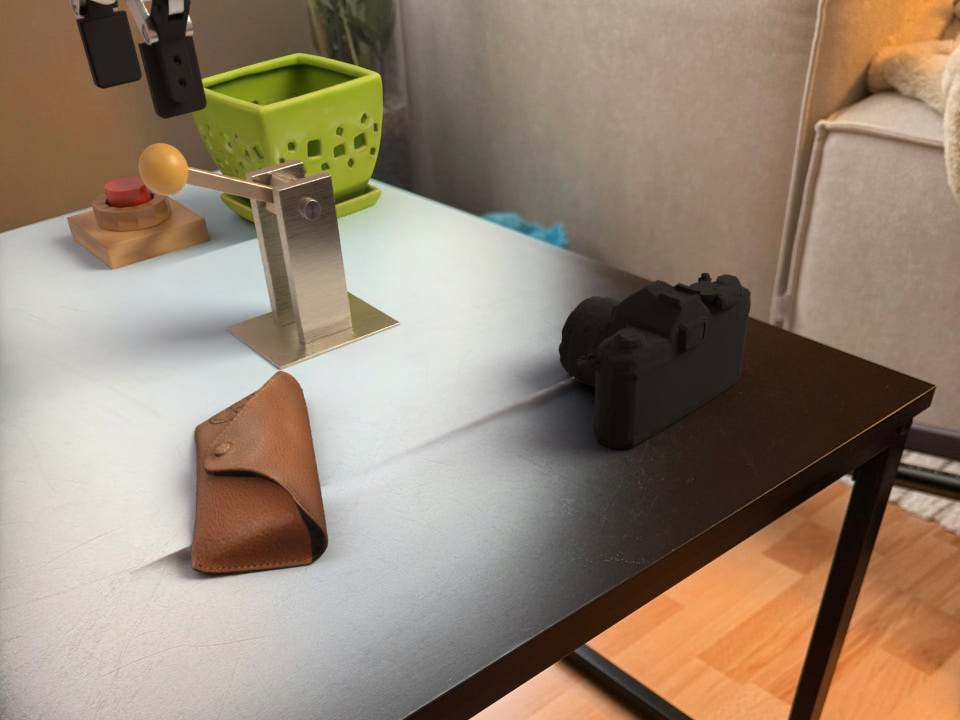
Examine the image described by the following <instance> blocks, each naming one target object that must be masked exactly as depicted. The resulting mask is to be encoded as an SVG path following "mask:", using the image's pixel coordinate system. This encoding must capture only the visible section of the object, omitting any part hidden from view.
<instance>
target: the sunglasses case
mask: <svg viewBox="0 0 960 720" xmlns="http://www.w3.org/2000/svg"><path fill="white" fill-rule="evenodd" d="M194 442H195V443H194V444H195V452H196V485H195V487H196V491H195V516H194V526H193V535H192V542H191V555H190V558H191V560H190V561H191V567H190V568H191V569H192V571H196V572H197V573H201V574H205V575H215V574H244V573H245V574H246V573H256V572H264V571H270V570H271V571H272V570H273V571H274V570H281V569H289V568H294V567H295V568H297V567H301V566H309V565H312V564H313V563H315V562H316V561H318V560H320V558H322V556H323V555H324V554H325V553H326V551H327V549H328V547H329V535H328V530H327V529H328V528H327V521H326V513H325V512H326V511H325V506H324V501H323V500H324V499H323V495H322V488H321V482H320V476H319V469H318V464H317V459H316V452H315V445H314V440H313V434H312V429H311V423H310V417H309V410H308V407H307V402H306V398H305V394H304V389H303V388H302V386H301V384H300V383H299V381H298V379H296V378H295V376H293V375H292V374H291V373H289V372H287V371H284V370H278V371H276V372H275V373H274V374H273V375H272V376H271V377H270V378H269V379H268V380H267V381H266V382H265V383H263V385H261V387H260V388H259V389H257V390H255V391H253V392H252V393H250V394H248V395H247V396H244V397H243V398H241V399H240V400H238V401H236V402H234V403H233V404H231V405H230V406H228V407H226V408H224V409H223V410H221V411H220V412H218V413H216V414H214V415H212V416H211V417H209V418H208V419H206V420H204V421H202V422H201V423H199V424H198V425H197V426H195V430H194Z"/></svg>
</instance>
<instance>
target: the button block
mask: <svg viewBox="0 0 960 720" xmlns="http://www.w3.org/2000/svg"><path fill="white" fill-rule="evenodd" d="M149 190H150V189H149ZM150 194H151V198H152V200H150V201H149V202H147V203H145V204H141V205H138V206H134V207H124V208H117V207H110V206H109V203H108V199H107V196H106V192H104V193H102V194H101V195H99V196H97V197H95V198H94V200H93V202H92V204H91V208H92V210H90V211H86V212H82V213H78V214H75V215H71V216H68V217H66V221H67V224H68V227H69V231H70V234H71V236H72V239H73V241H75V242H76V243H77V244H78V245H80V246H81V247H82V248H83V249H85V250H86V251H87V252H89V253H90V254H92V255H93V256H94V257H95V258H97V259H98V260H99V261H100V262H102V263H103V264H105V266H107V267H108V268H110V270H118V269H121V268H124V267H127V266H130V265H133V264H137V263H140V262H143V261H147V260H150V259H153V258H157V257H160V256H164V255H166V254H170V253H173V252H176V251H179V250H182V249H183V250H184V249H185V248H190V247H193V246H196V245H199V244H203V243H205V242H209V241H210V236H209V232H208V227H207V223H206V219H205V217H204V216H202V215H200V214H198V213H197V212H195V211H194V210H192V209H190V208H189V207H187V206H185V205H183V204H182V203H180V202H178V200H176V199H173V198H172V197H170V196H164V195H159V194H157V193H155V192H153V191H151V190H150Z"/></svg>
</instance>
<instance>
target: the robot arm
mask: <svg viewBox="0 0 960 720" xmlns="http://www.w3.org/2000/svg"><path fill="white" fill-rule="evenodd" d="M124 2H125V4H126V7H127V9H128V11H129V12H130V14H131V17H132V19H133V21H134V22H135V25H136V27H137V29H138V31H139V34H140V35H141V37H142V39H143V41H144V42H140V43H137V46H138V49H139V53H140V57H141V63H142V65H143V70H144V72H145V73H144V74H145V77H146V82H147V85H148V91H149V93H150V97H151V101H152V105H153V109H154V113H155V115H156V116H158V117H159V118H160V119H165V120H166V119H170V118H174V117H178V116H183V115H186V114H192V113H191V112H195V111H199V110H202V109H204V108H205V107H206V104H207V101H206V96H205V92H204V87H203V83H202V79H203V77H202V74H201V70H200V65H199V61H198V56H197V51H196V46H195V42H194V37H193V36H194V32H195V29H194V25H193V22H192V19H191V17H190V9H191V6H190V5H191V0H124ZM147 2H151V5H150V11H149V10H148V9H147V6H146V4H145V3H147ZM69 4H70V8H71V11H72V13H73V15H74V16H75V17H76V18H77V19H75V22H76V25H77V28H78V29H77V30H78V33H79V36H80V40H81V43H82V46H83V49H84V53H85V57H86V60H87V64H88V68H89V72H90V75H91V78H92V81H93V84H94V85H95V86H96V87H97V88H99V89H102V90H104V89H108V88H113V87H118V86H122V85H126V84H130V83H135V82H138V81H141V79H142V76H143V74H142V68H141V65H140V61H139V58H138V57H139V56H138V53H137V48H136V45H135V41H134V37H133V33H132V30H131V25H130V22H129V17H128V15H127V14H128V13H127V10H124V9H120V10H119V7H120V0H69Z"/></svg>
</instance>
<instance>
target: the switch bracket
mask: <svg viewBox="0 0 960 720" xmlns="http://www.w3.org/2000/svg"><path fill="white" fill-rule="evenodd" d="M272 175H274V176H278V177H282V178H286V179H290V180H294V181H291V182H288V183H284V184H281V185H277V186H274V187H272V193H273V198H274V204H275V210H276V214H274V213H272V212H270V211H269V210H267V209H266V203H267V202H264V201H259V200H255V199H250V202H251V207H252V212H253V217H254V222H255V223H254V227H255V232H256V237H257V242H258V247H259V253H260V257H261V263H262V268H263V275H264V278H265V284H266V288H267V295H268V299H269V303H270V309H271V311H269V312H267V313H264V314H261V315H259V316H256V317H253V318H250V319H247V320H244V321H241V322H238V323H234V324H232V325H229V326H227V327H225V329H226V331H228V333H230V334H231V335H232V336H234V337H235V338H237V339H238V340H240V342H242V343H243V344H245V345H246V346H248V347H249V348H250V349H252V350H253V351H255V352H256V353H257V354H259V355H260V356H261V357H263V358H264V359H265V360H266V361H268V362H270V363H271V364H272V365H274V366H275V367H276V368H278V369H279V371H283V370H284V369H287V368H290V367H293V366H295V365H298V364H301V363H303V362H306V361H309V360H311V359H314V358H317V357H319V356H322V355H324V354H328V353H330V352H332V351H335V350H338V349H341V348H343V347H347V346H349V345H351V344H354V343H357V342H359V341H362V340H365V339H368V338H370V337H373V336H375V335H379V334H381V333H383V332H386V331H388V330H392V329H394V328H397V327H399V326H401V322H400V321H399V320H397V319H396V318H394V317H392V316H390V315H388V314H387V313H385V312H384V311H382V310H380V309H379V308H377V307H375V306H373V305H371V304H370V303H368V302H366V301H365V300H363V299H361V298H360V297H358V296H356V295H355V294H353V293H352V292H350V291H348V286H347V279H346V271H345V265H344V257H343V250H342V244H341V243H342V242H341V236H340V229H339V221H338V219H337V214H336V206H335V199H334V192H333V185H332V177H331V175H330V174H327V173H325V172H323V173H319V174H316V175H312V176H309V177H305V172H304V165H303V162H302V161H299V160H297V159H295V160H292V161H288V162H284V163H281V164H277V165H274V166H270V167H266V168H263V169H259V170H256V171H252V172H248V173H246V174H245V176H246V180H247V181H251V182H255V183H260V184H264V185H268V186H270V182H271V177H272Z"/></svg>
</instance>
